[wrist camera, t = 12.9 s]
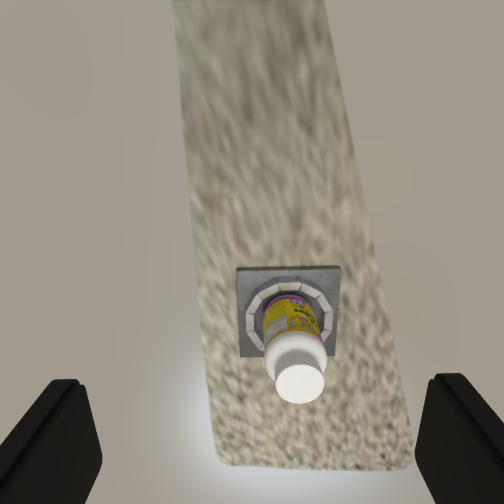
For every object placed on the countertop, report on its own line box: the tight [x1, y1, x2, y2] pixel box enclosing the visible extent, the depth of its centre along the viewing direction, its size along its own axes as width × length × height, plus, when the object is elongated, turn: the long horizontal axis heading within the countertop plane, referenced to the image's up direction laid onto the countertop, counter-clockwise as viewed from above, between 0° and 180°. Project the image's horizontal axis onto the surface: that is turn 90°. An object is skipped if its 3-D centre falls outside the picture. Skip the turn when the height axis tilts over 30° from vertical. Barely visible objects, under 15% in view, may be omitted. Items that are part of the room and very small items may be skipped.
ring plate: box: [237, 266, 341, 357], centre depth 44 cm, size 13×13×2 cm
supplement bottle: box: [263, 294, 327, 403], centre depth 38 cm, size 7×7×13 cm
